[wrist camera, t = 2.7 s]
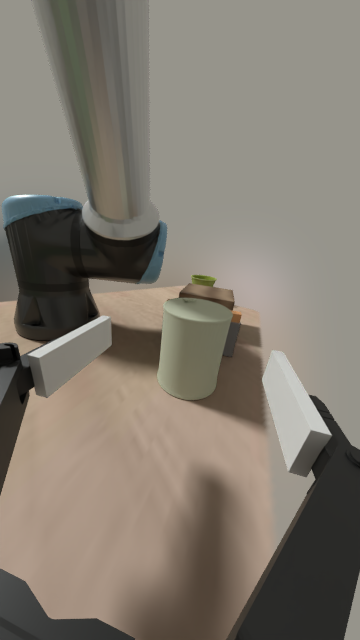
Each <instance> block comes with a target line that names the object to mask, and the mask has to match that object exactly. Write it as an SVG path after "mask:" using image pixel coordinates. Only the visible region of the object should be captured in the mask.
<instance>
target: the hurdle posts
mask: <svg viewBox="0 0 360 640" xmlns="http://www.w3.org/2000/svg"><path fill="white" fill-rule="evenodd" d="M240 325H241V324H240V323H235V322H231V323H230V326H229V330H228V334H227V338H226V342H225V346H224V350H223V354H222V355H224V356H229V357H232V355H233V351H234V347H235V343H236V340H237V336H238V332H239V328H240ZM162 327H163V324H162ZM161 339H162V336H161Z"/></svg>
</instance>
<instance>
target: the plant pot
mask: <svg viewBox="0 0 360 640" xmlns="http://www.w3.org/2000/svg"><path fill="white" fill-rule="evenodd" d="M191 277H192V284H197V285H203V286H209V287H213V284H214V283H215V281H216V280H217V279H216V278H213V277H210V276H203V275H192V276H191Z"/></svg>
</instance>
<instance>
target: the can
mask: <svg viewBox="0 0 360 640" xmlns="http://www.w3.org/2000/svg"><path fill="white" fill-rule="evenodd" d="M163 307H164V313H163V327H162V339H161V351H160V361H159V370H158V373H157V379H158V382H159V384H160V386H161V387H162V388H163V389H164V390H165V391H166V392H167V393H169V394H170V395H172V396H174V397H177V398H180V399H184V400H199V399H203V398H205V397H207V396H209V395H210V394H212V393H213V391H214V390H215V388H216V384H217V376H218V371H219V367H220V363H221V358H222V354H223V350H224V346H225V342H226V338H227V334H228V330H229V326H230V323H231V319H232V317H233V314H232V312H231V311H230V310H229V309H228V308H227V307H225V306H223V305H221V304H218V303H215V302H212V301H208V300H203V299H196V298H175V299H170V300H168V301H166V302H165V303H164V305H163Z"/></svg>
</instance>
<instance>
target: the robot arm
mask: <svg viewBox="0 0 360 640" xmlns="http://www.w3.org/2000/svg"><path fill="white" fill-rule="evenodd" d="M31 2H32V6H33V9H34V12H35V16H36V19H37V23H38V26H39V30H40V33H41V37H42V40H43V43H44V47H45V50H46V54H47V57H48V61H49V64H50V68H51V71H52V75H53V78H54V82H55V85H56V89H57V92H58V95H59V99H60V103H61V106H62V110H63V113H64V116H65V120H66V123H67V127H68V130H69V134H70V137H71V141H72V144H73V147H74V151H75V155H76V158H77V162H78V165H79V168H80V172H81V175H82V179H83V182H84V186H85V189H86V193H87V196H88V201H87V202H86V203H85V204H84V206H82V204H81V203H80V202H78V201H76V200H72V199H68V198H63V197H52V196H47V195H15V196H11V197H8V198H6V199H5V200H4V202H3V203H2V212H3V219H4V225H3V228H4V230H5V231H6V235H7V239H8V243H9V247H10V252H11V256H12V260H13V265H14V269H15V273H16V277H17V281H18V286H19V295H18V301H17V306H16V311H15V316H14V324H15V328H16V331H17V333H18V334H19V335H21V336H23V337H25V338H29V339H35V340H51V341H49V342H47V343H46V344H43V345H41V346H40V347H38V348H36V349H34V350H32V351H30V352H28V353H26V354H24V355H22V356H20V353H19V349H18V345H17V344H15V343H1V344H0V494H1V491H2V488H3V484H4V481H5V477H6V474H7V471H8V467H9V464H10V460H11V457H12V454H13V450H14V447H15V443H16V440H17V437H18V433H19V430H20V426H21V423H22V419H23V416H24V413H25V409H26V406H27V402H28V399H29V390H30V389H32V388H33V387H35V392H36V395H39V396H42V397H46V398H48V397H49V396H50V395H51V394H53V393H54V392H55V391H56V390H58V389H59V388H60V387H61V386H62V385H64V384H65V383H66V382H67V381H69V380H70V379H71V378H72V377H73V376H75V375H76V374H77V373H78V372H80V371H81V370H82V369H83V368H84V367H86V366H87V365H88V364H89V363H91V362H92V361H93V360H94V359H95V358H97V357H98V356H99V355H100V354H102V353H103V352H104V351H105V350H106V349H108V348H109V347H110V346H111V345H112V335H111V317H108V316H101V317H100V313H99V310H98V308H97V305H96V303H95V301H94V299H93V296H92V294H91V292H90V289H89V280H88V278H91V279H99V280H108V281H117V282H126V283H135V284H140V283H145V284H152V283H154V282H156V281H157V279H158V278H159V275H160V271H161V267H162V263H163V254H164V250H165V245H166V238H167V225H166V223H164V222H162V221H159V212H158V209H157V208H156V206H155V205H154V204H153V203H152V202H151V201H150V165H149V163H150V155H149V153H150V151H149V149H150V148H149V147H150V146H149V0H31ZM262 382H263V386H264V389H265V393H266V396H267V400H268V403H269V407H270V410H271V414H272V417H273V421H274V424H275V427H276V431H277V434H278V438H279V441H280V445H281V448H282V452H283V455H284V459H285V462H286V465H287V469H288V472H290V473H294V474H297V475H300V476H304V477H307V475H308V474H309V472H310V471H311V469H312V471H313V474H314V476H315V479H316V480H315V481H314V483H313V484H312V486H311V488H310V489H309V490H308V492H307V495H306V497H305V499H304V501H303V502H302V504H301V506H300V508H299V510H298V511H297V513H296V515H295V517H294V519H293V520H292V522H291V524H290V526H289V528H288V529H287V531H286V533H285V535H284V536H283V538H282V540H281V542H280V544H279V545H278V547H277V549H276V551H275V553H274V554H273V556H272V558H271V560H270V562H269V563H268V565H267V567H266V569H265V571H264V572H263V574H262V576H261V578H260V580H259V581H258V583H257V585H256V587H255V589H254V590H253V592H252V594H251V596H250V598H249V599H248V601H247V603H246V605H245V607H244V608H243V610H242V612H241V614H240V616H239V617H238V619H237V621H236V623H235V625H234V626H233V628H232V630H231V632H230V634H229V635H228V637H227V639H226V640H344V636H345V632H346V627H347V623H348V619H349V615H350V610H351V606H352V602H353V597H354V593H355V589H356V584H357V580H358V576H359V572H360V450H359V449H357V448H356V447H354V446H352V445H351V444H350V442H349V441H348V439H347V438H346V437H345V435H344V433H343V432H342V430H341V429H340V427H339V426H338V424H337V423H336V421H334V418H333V416H332V415H331V414H330V412H329V410H328V409H327V407H326V406H325V404H324V403H323V402H322V401H320V400H319V399H318V398H317V397H316V396H312V395H308V394H307V392H306V390H305V388H304V387H303V385H302V383H301V382H300V380H299V378H298V376H297V375H296V373H295V372H294V370H293V368H292V366H291V365H290V363H289V361H288V359H287V358H286V356H285V354H284V353H283V352H280V351H275V350H272V352H271V355H270V358H269V361H268V364H267V366H266V369H265V372H264V375H263V378H262ZM0 640H135V638H133V637H131V636H129V635H127V634H126V633H124V632H122V631H120V630H118V629H116V628H114V627H112V626H110V625H108V624H106V623H104V622H102V621H101V620H99V619H97V618H94V619H56V620H55V619H50V618H49V617H48V616H47V614H46V613H45V611H44V610H43V608H42V607H41V605H40V603H39V602H38V600H37V599H36V597H35V596H34V594H33V593H32V591H31V589H30V588H29V586H28V585H27V583H26V582H25V581H23V580H21V579H20V578H18V577H16V576H14V575H12V574H10V573H8V572H6V571H4V570H2V569H0Z"/></svg>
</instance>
